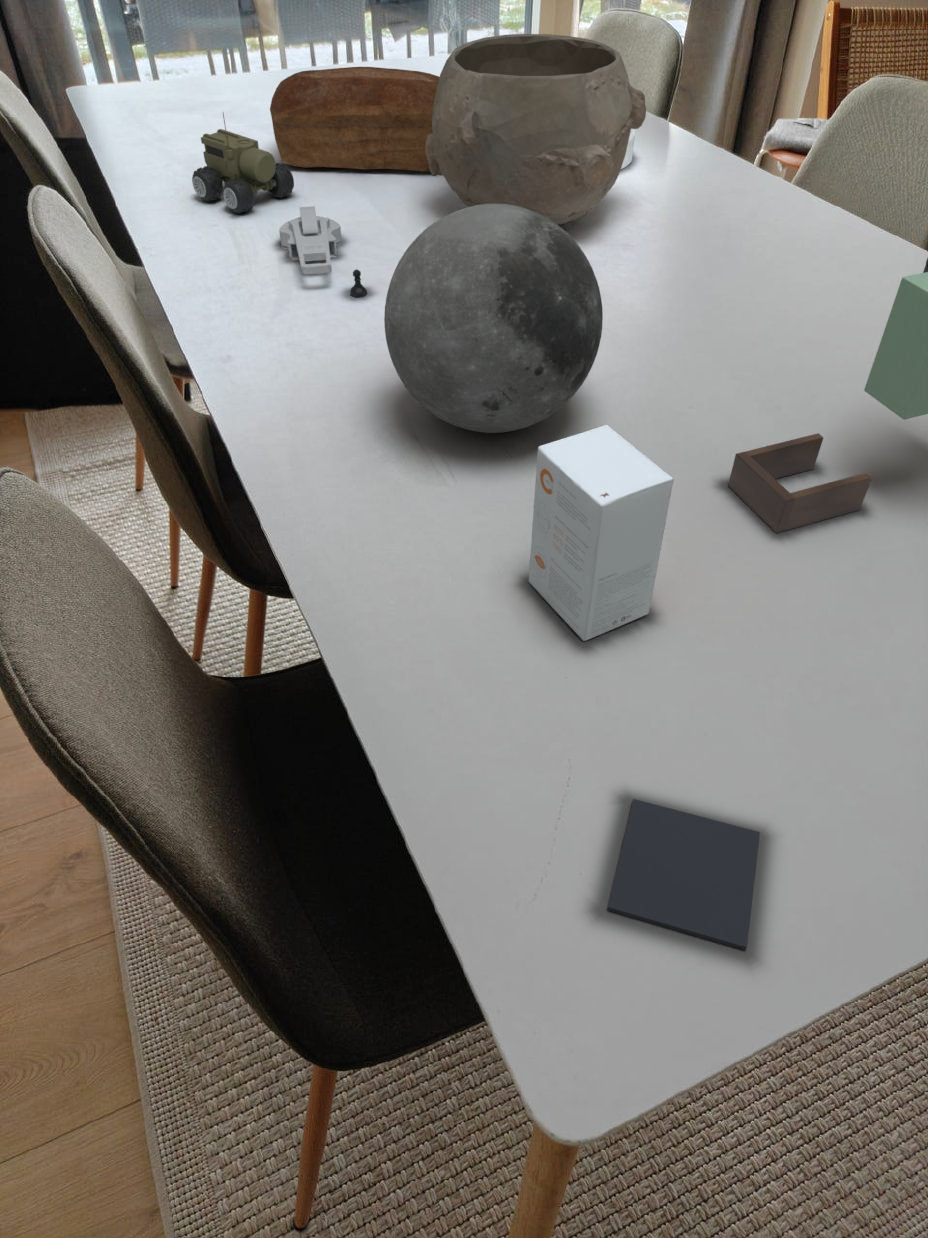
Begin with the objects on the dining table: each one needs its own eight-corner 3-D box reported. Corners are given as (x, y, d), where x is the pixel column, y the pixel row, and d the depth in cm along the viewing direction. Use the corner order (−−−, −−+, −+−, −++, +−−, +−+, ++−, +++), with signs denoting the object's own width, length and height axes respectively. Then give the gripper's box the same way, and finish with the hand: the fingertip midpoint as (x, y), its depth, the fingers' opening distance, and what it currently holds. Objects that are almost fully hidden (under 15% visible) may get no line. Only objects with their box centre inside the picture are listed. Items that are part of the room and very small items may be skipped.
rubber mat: (758, 835, 59) (759, 831, 58) (745, 950, 53) (746, 947, 53) (632, 802, 60) (633, 798, 60) (607, 910, 55) (607, 907, 55)
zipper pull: (286, 294, 112) (281, 258, 109) (280, 234, 125) (275, 201, 122) (351, 288, 113) (348, 253, 110) (339, 230, 126) (336, 197, 123)
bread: (456, 179, 139) (455, 88, 131) (270, 173, 141) (258, 83, 132) (463, 148, 149) (463, 61, 141) (289, 142, 151) (279, 57, 142)
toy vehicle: (248, 178, 139) (234, 89, 131) (299, 196, 134) (289, 105, 126) (192, 199, 133) (174, 107, 125) (243, 219, 128) (228, 124, 120)
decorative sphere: (581, 365, 100) (601, 170, 86) (601, 475, 86) (629, 262, 72) (395, 365, 100) (385, 169, 86) (384, 474, 86) (369, 261, 72)
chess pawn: (346, 295, 112) (344, 270, 110) (355, 288, 113) (353, 264, 111) (361, 298, 111) (359, 274, 109) (369, 291, 113) (368, 267, 111)
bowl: (390, 238, 124) (381, 68, 110) (478, 169, 142) (480, 16, 128) (583, 276, 116) (600, 98, 102) (650, 197, 134) (673, 37, 120)
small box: (650, 615, 73) (677, 478, 64) (583, 644, 70) (601, 506, 61) (590, 556, 78) (607, 421, 69) (525, 581, 75) (534, 445, 66)
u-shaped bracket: (808, 464, 87) (818, 432, 85) (860, 509, 82) (872, 477, 80) (727, 485, 85) (735, 453, 82) (776, 533, 80) (786, 500, 78)
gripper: (1140, 355, 75) (974, 396, 70) (1003, 283, 84) (850, 315, 80) (1191, 263, 69) (1016, 301, 65) (1039, 197, 79) (878, 226, 74)
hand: (925, 308), depth 72 cm, fingers closed on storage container, 5 cm apart
